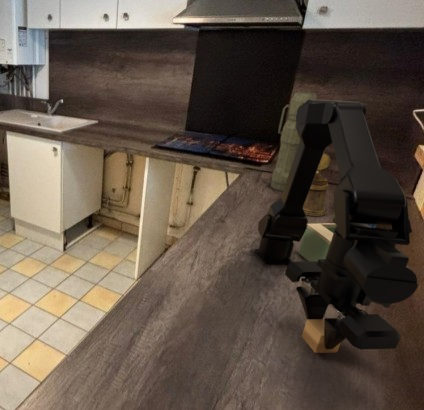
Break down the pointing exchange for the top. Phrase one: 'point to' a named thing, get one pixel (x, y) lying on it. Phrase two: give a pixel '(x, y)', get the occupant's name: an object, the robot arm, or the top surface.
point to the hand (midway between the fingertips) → (320, 339)
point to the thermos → (288, 140)
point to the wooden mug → (318, 190)
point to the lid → (322, 230)
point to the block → (316, 336)
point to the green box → (314, 245)
